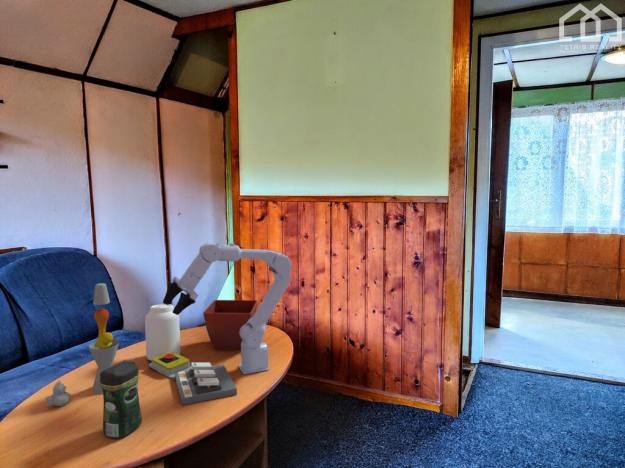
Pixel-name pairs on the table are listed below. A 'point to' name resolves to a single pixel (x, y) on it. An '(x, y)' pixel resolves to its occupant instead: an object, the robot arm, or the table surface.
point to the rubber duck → (58, 395)
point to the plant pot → (228, 322)
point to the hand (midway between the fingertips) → (170, 308)
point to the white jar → (162, 331)
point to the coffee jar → (120, 399)
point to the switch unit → (196, 393)
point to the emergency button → (170, 364)
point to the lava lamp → (102, 337)
